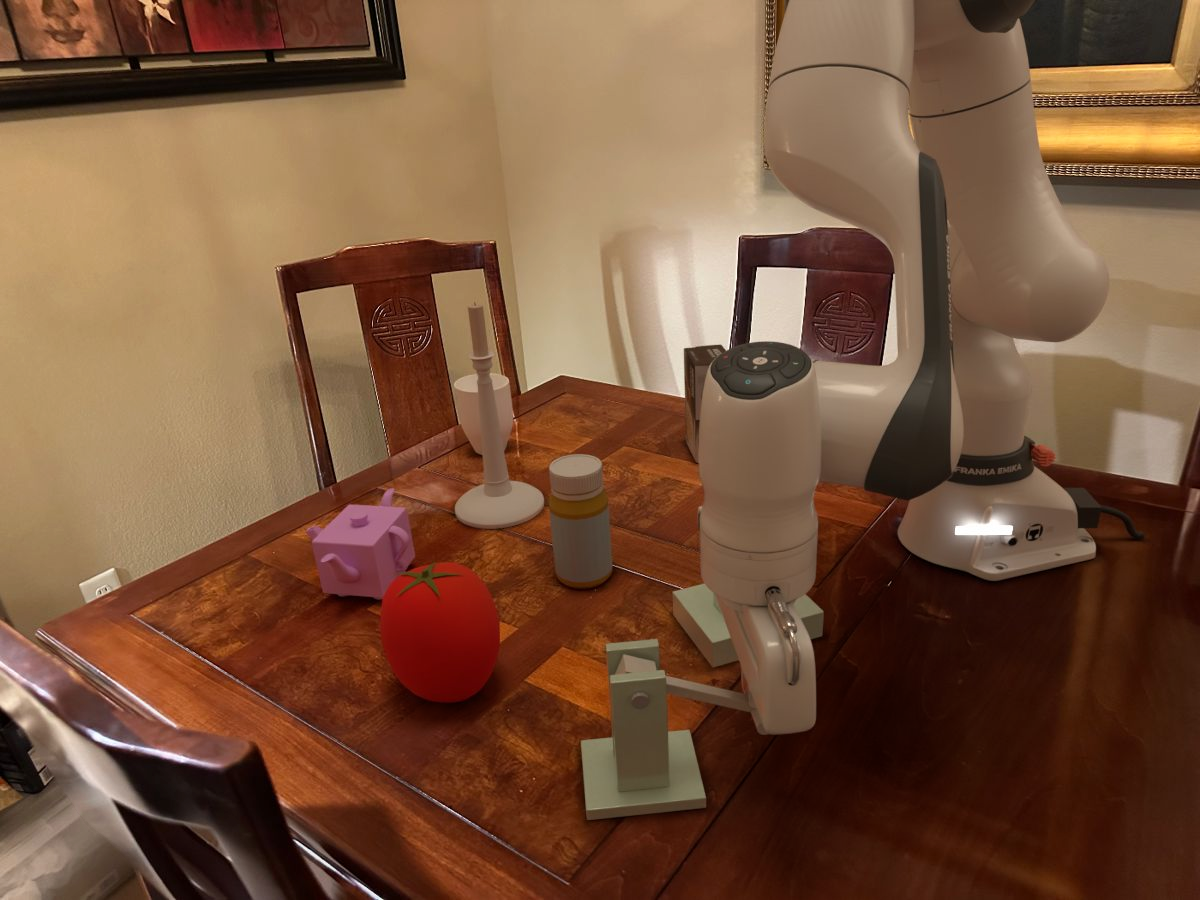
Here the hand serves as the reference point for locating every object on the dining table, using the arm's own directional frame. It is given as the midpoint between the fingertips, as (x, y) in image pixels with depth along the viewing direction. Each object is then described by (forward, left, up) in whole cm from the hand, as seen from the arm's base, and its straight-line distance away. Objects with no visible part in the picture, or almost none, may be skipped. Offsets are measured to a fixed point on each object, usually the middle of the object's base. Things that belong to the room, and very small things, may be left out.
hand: (755, 696), depth 71 cm
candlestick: (+24, -53, -8) cm, 59 cm away
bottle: (+13, -33, -8) cm, 36 cm away
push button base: (-4, -20, -8) cm, 22 cm away
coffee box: (-9, -66, -8) cm, 67 cm away
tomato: (+28, -15, -8) cm, 33 cm away
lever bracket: (+10, 0, -8) cm, 13 cm away
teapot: (+40, -36, -8) cm, 55 cm away
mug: (+26, -75, -8) cm, 80 cm away
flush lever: (+6, 0, 0) cm, 6 cm away
